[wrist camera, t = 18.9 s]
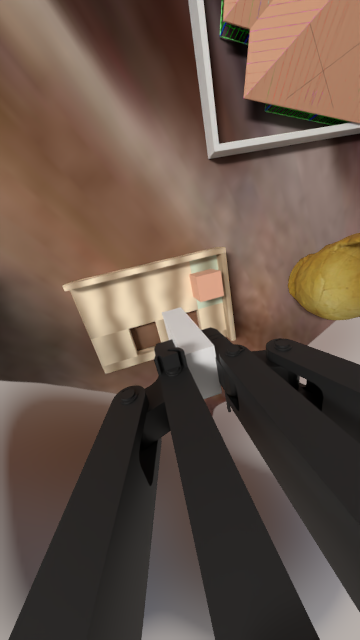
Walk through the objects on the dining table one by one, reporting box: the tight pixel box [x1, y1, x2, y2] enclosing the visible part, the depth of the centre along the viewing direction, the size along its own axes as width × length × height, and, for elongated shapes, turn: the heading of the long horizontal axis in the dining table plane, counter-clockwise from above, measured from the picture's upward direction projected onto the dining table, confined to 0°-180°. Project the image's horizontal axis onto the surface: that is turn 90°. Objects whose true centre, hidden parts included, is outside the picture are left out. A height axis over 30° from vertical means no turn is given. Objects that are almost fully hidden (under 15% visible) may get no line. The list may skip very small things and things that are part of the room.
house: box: [220, 0, 360, 126], centre depth 31 cm, size 23×33×8 cm
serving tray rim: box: [188, 0, 360, 159], centre depth 33 cm, size 40×30×3 cm
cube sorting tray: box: [63, 247, 236, 374], centre depth 43 cm, size 31×21×5 cm
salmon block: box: [189, 269, 224, 302], centre depth 40 cm, size 5×5×5 cm
